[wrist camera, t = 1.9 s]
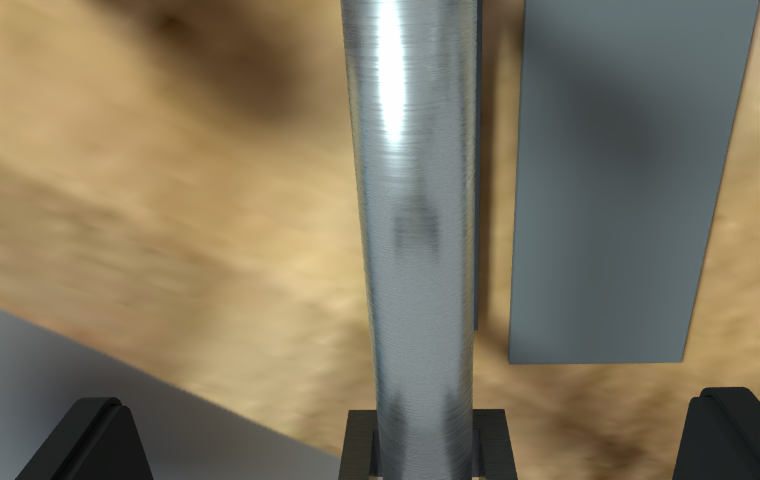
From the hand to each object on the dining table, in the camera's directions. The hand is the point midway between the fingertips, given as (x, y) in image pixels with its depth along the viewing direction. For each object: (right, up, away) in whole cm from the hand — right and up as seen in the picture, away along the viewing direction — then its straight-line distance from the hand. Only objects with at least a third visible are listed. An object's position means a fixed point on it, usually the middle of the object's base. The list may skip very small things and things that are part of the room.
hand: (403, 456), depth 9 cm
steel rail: (+1, +3, +6) cm, 7 cm away
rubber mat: (+12, +10, +18) cm, 23 cm away
